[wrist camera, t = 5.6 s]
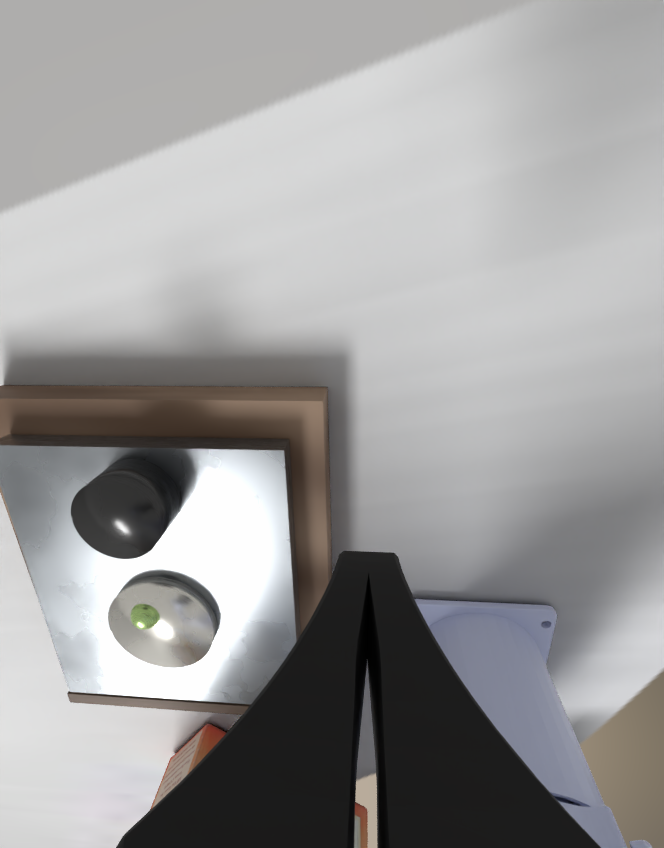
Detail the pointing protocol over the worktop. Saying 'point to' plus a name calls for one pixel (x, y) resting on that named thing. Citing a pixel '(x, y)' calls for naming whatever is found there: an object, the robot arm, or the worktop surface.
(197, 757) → the cracker box
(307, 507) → the base
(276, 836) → the robot arm
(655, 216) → the worktop surface
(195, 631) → the plate
